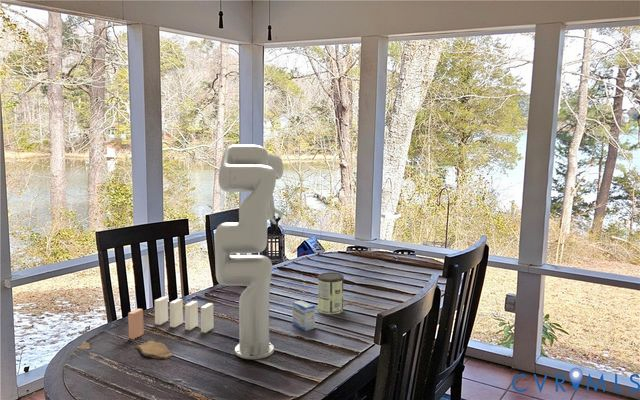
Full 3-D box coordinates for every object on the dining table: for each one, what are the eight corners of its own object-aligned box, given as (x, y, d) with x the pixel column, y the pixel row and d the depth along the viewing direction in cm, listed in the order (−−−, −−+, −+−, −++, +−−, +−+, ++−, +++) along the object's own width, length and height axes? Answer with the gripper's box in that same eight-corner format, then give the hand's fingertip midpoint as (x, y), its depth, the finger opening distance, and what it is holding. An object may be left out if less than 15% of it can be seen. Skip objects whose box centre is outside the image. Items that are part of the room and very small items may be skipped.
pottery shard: (180, 357, 163) (150, 342, 172) (180, 350, 163) (150, 335, 171) (158, 367, 157) (128, 351, 165) (158, 359, 156) (128, 343, 164)
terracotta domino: (143, 334, 178) (142, 309, 177) (133, 339, 173) (132, 313, 172) (139, 333, 178) (138, 308, 177) (129, 338, 174) (128, 313, 173)
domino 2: (198, 325, 187) (197, 301, 185) (190, 330, 182) (189, 305, 181) (193, 324, 187) (192, 300, 186) (185, 329, 183) (184, 304, 181)
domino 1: (183, 322, 189) (182, 299, 188) (174, 327, 184) (174, 303, 183) (178, 322, 189) (177, 298, 188) (170, 326, 185) (169, 302, 184)
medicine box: (292, 324, 188) (292, 302, 187) (301, 322, 191) (301, 299, 190) (305, 331, 182) (305, 307, 181) (315, 328, 185) (315, 305, 184)
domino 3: (213, 327, 184) (213, 303, 183) (205, 332, 180) (205, 308, 179) (208, 326, 185) (208, 302, 184) (201, 331, 180) (200, 307, 179)
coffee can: (325, 304, 211) (325, 270, 210) (347, 308, 206) (348, 274, 204) (312, 311, 203) (312, 276, 201) (335, 316, 197) (335, 280, 196)
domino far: (168, 320, 191) (167, 297, 190) (159, 324, 186) (159, 301, 185) (163, 319, 192) (163, 296, 191) (155, 324, 187) (154, 300, 186)
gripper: (237, 190, 198) (237, 234, 201) (281, 191, 197) (281, 235, 199) (242, 188, 206) (242, 230, 208) (284, 189, 204) (284, 232, 206)
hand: (261, 233), depth 203 cm, fingers open, 9 cm apart
